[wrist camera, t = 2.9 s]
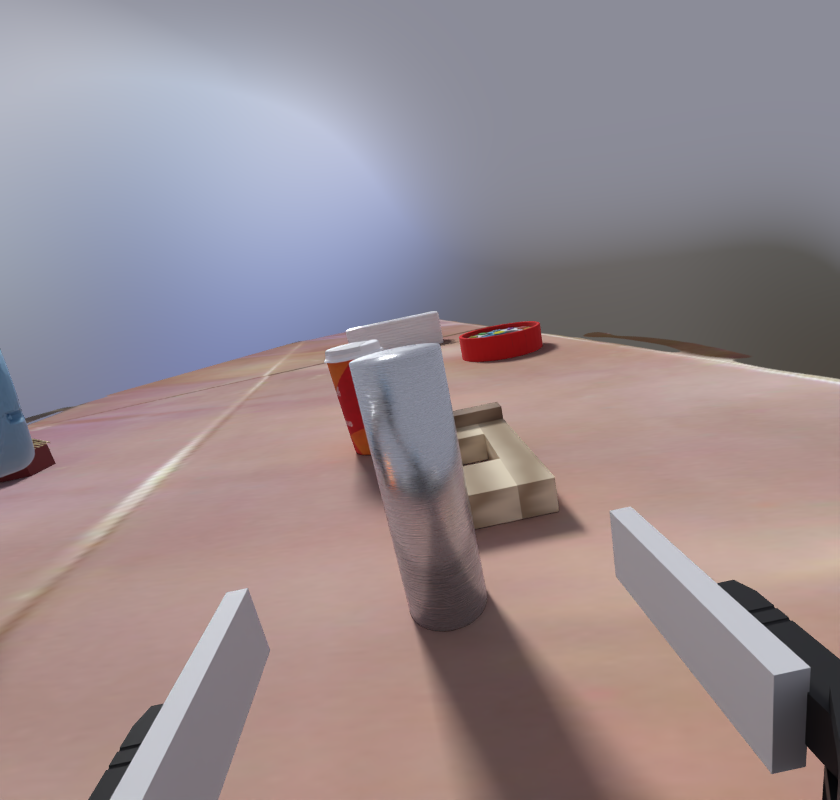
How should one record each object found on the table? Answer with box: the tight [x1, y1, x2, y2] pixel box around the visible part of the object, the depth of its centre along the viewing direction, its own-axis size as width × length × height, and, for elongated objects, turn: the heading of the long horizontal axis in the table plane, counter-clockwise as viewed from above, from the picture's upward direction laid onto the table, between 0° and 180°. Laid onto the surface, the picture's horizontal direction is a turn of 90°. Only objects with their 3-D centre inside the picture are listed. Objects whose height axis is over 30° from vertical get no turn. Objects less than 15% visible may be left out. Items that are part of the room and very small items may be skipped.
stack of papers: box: [346, 311, 443, 351], centre depth 148 cm, size 32×11×11 cm, turn 94°
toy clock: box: [459, 321, 543, 362], centre depth 105 cm, size 20×6×20 cm
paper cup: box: [324, 339, 383, 455], centre depth 55 cm, size 8×8×14 cm
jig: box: [453, 402, 559, 529], centre depth 41 cm, size 13×18×4 cm
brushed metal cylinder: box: [349, 343, 487, 631], centre depth 25 cm, size 5×5×16 cm
